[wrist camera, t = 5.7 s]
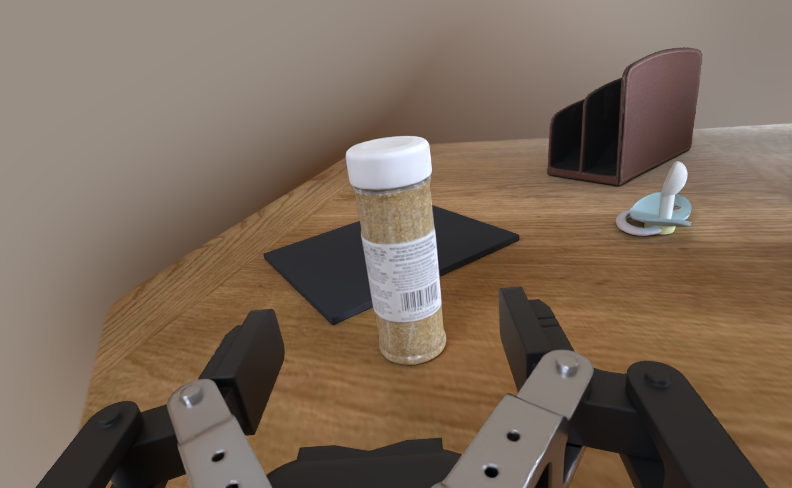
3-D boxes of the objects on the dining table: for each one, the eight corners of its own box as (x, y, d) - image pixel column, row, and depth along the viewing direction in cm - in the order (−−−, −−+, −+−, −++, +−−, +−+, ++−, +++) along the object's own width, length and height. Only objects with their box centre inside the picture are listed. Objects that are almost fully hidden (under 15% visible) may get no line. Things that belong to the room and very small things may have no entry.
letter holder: (691, 150, 61) (709, 40, 56) (619, 187, 51) (632, 58, 45) (620, 144, 69) (630, 47, 63) (545, 176, 58) (548, 63, 53)
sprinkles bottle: (437, 320, 31) (419, 130, 25) (455, 360, 27) (438, 144, 21) (374, 332, 31) (342, 141, 25) (382, 375, 26) (346, 158, 21)
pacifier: (610, 240, 39) (690, 246, 36) (614, 173, 37) (699, 173, 34) (619, 212, 45) (689, 215, 42) (623, 152, 42) (697, 150, 39)
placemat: (419, 205, 54) (419, 200, 54) (519, 240, 41) (519, 234, 41) (264, 258, 45) (263, 253, 44) (332, 325, 32) (330, 318, 32)
